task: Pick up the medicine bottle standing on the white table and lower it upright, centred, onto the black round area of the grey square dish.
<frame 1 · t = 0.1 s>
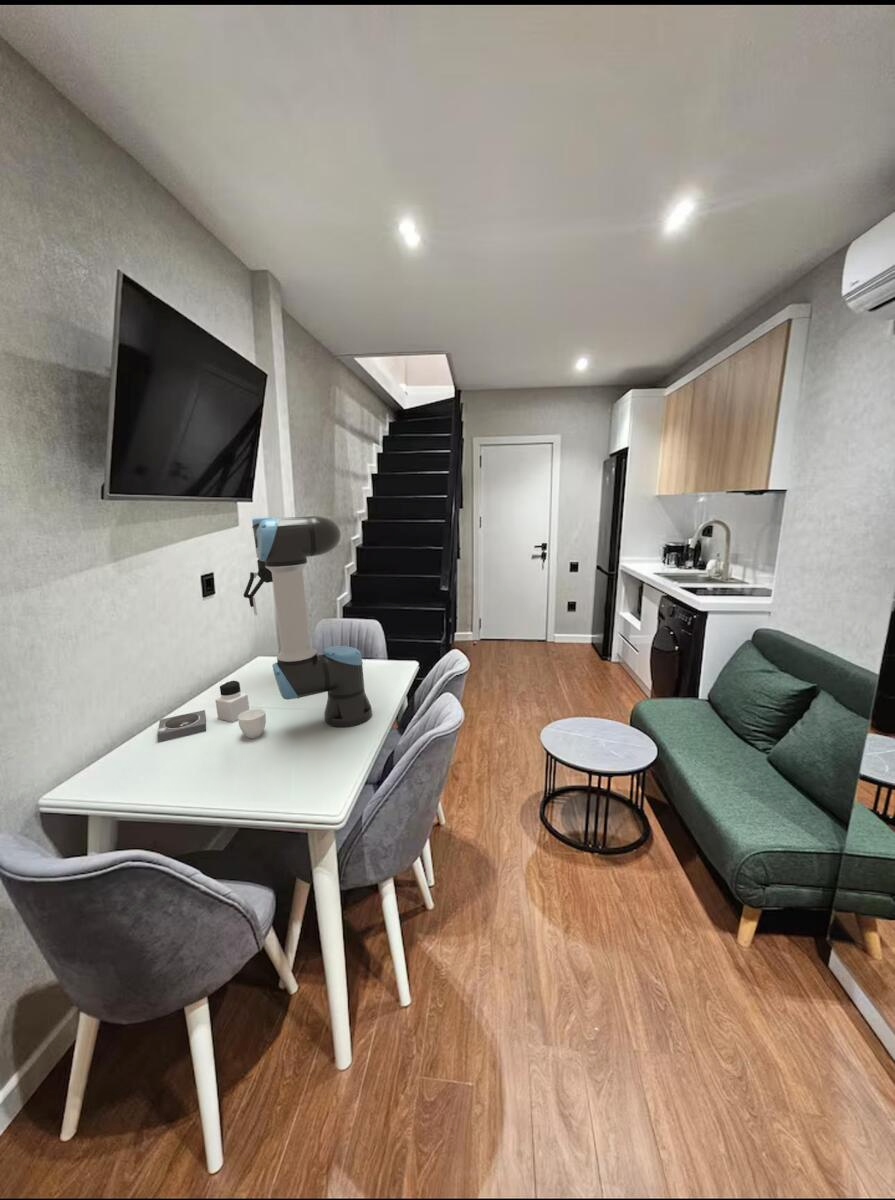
hand: (274, 612, 185), 28 cm above the table, fingers open, 13 cm apart
grey square dish: (183, 728, 151), on the table
medicine bottle: (234, 716, 159), on the table
cup: (255, 733, 146), on the table
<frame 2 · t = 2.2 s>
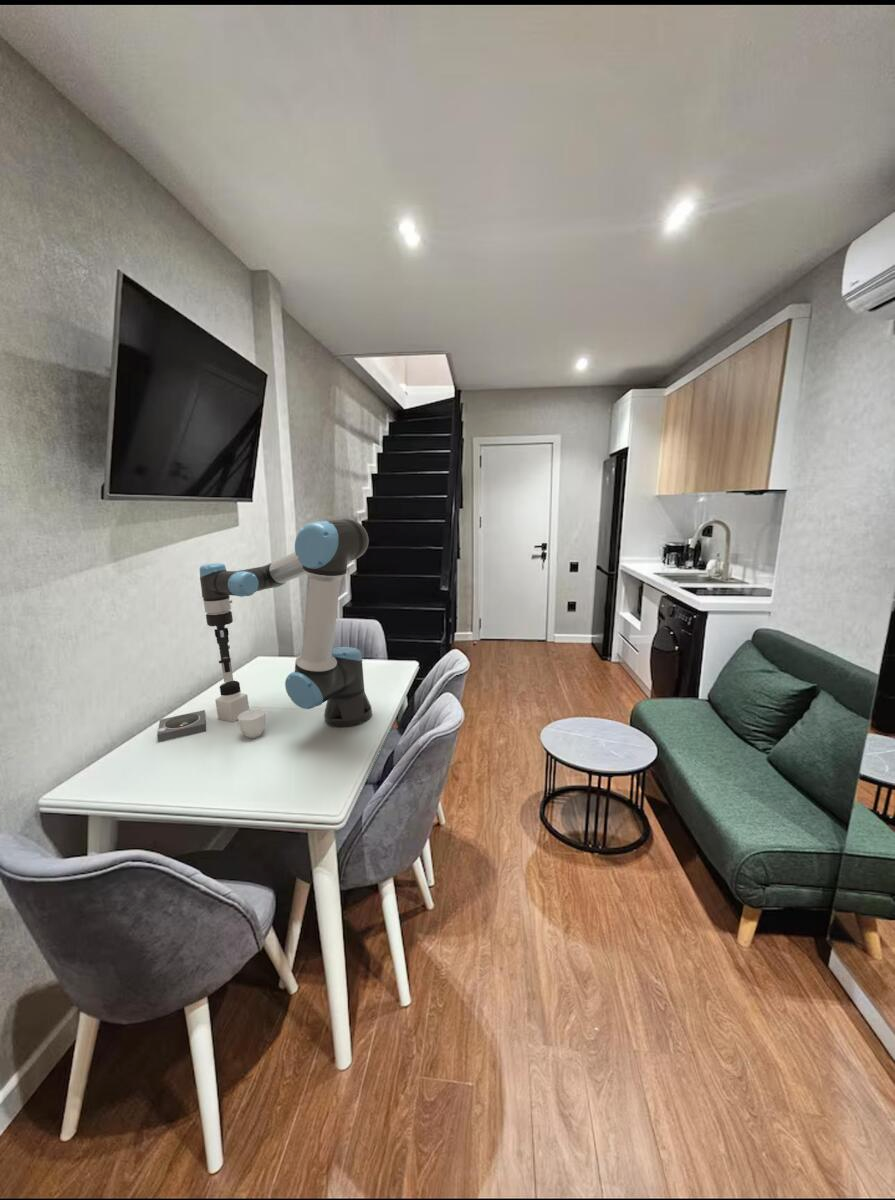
hand: (227, 674, 156), 15 cm above the table, fingers open, 13 cm apart
nothing on the table moved.
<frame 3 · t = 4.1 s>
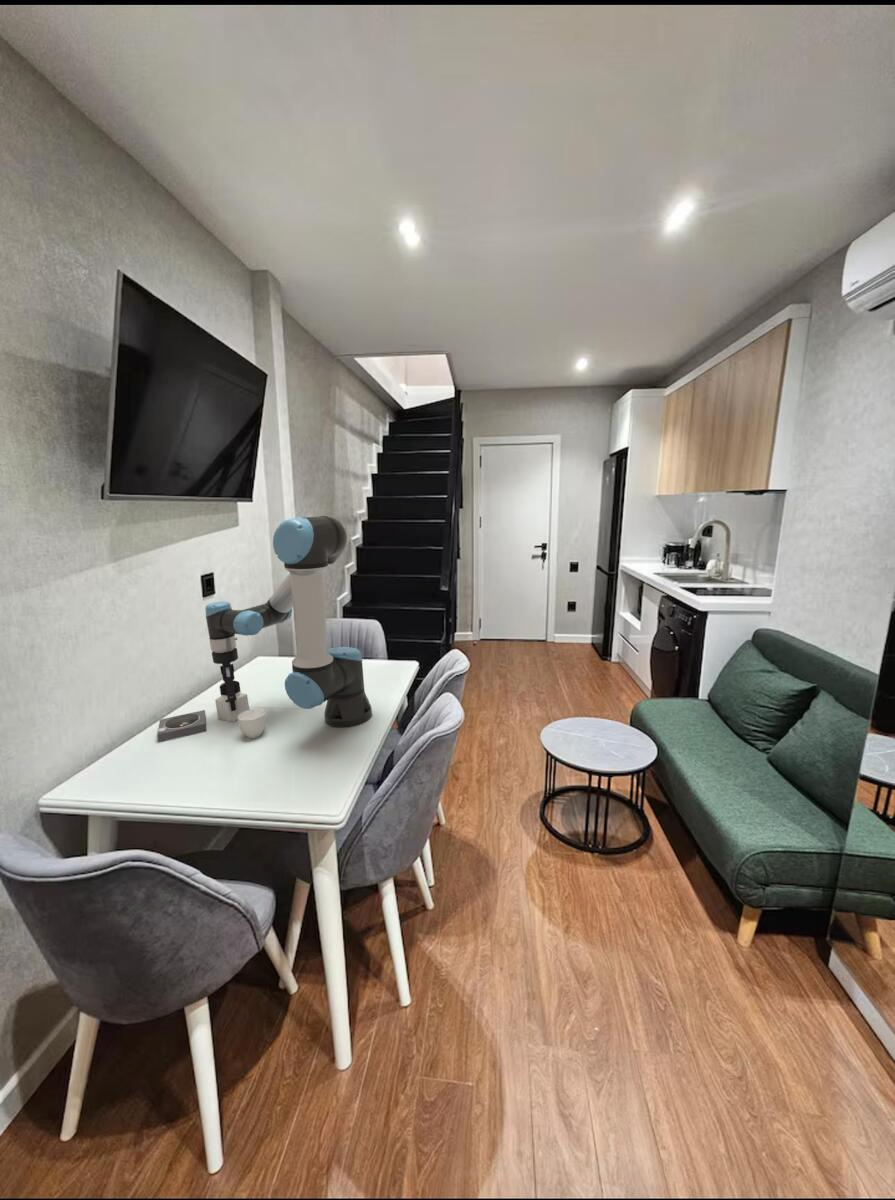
hand: (233, 713, 158), 1 cm above the table, fingers closed on medicine bottle, 10 cm apart
medicine bottle: (234, 716, 159), on the table, touching gripper
everything else where it was.
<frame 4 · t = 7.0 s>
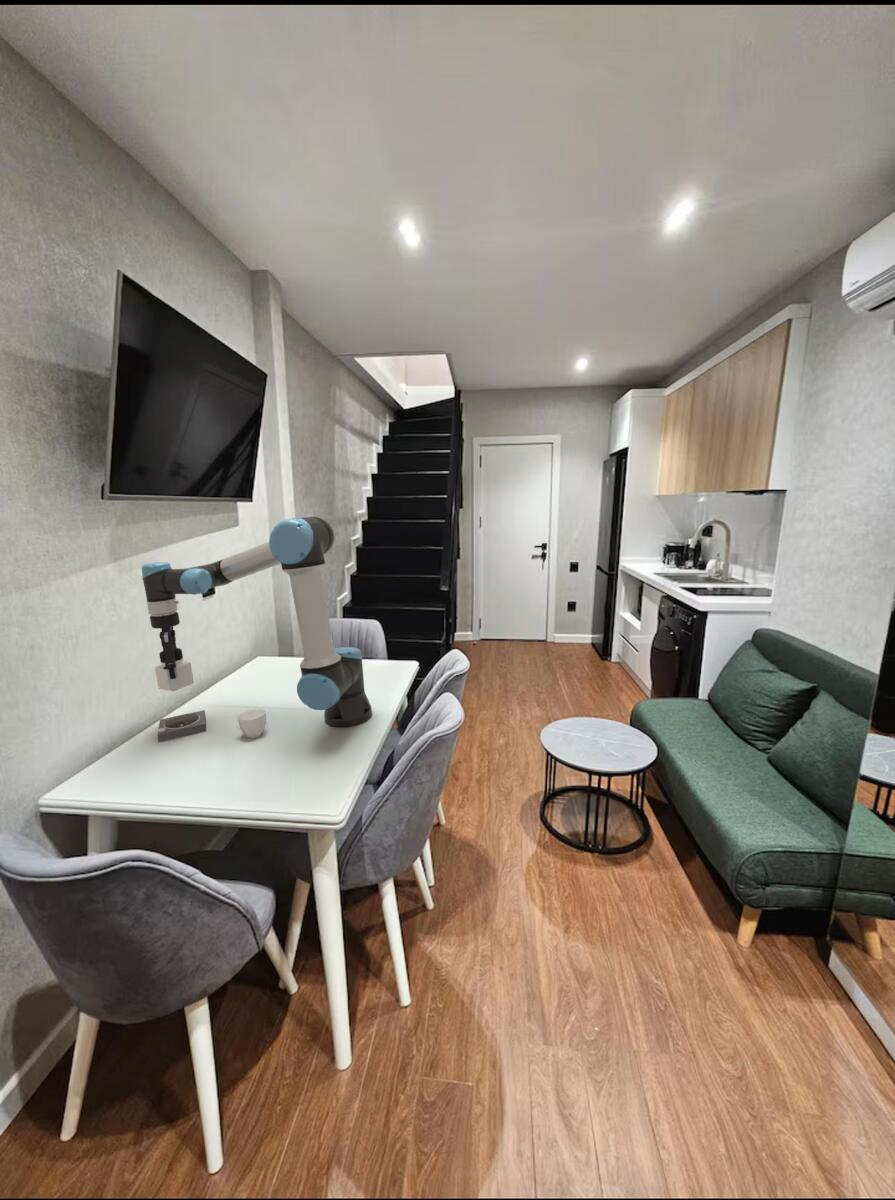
hand: (175, 682, 148), 16 cm above the table, fingers closed on medicine bottle, 10 cm apart
medicine bottle: (176, 686, 148), point 14 cm above the table, touching gripper
everything else where it was.
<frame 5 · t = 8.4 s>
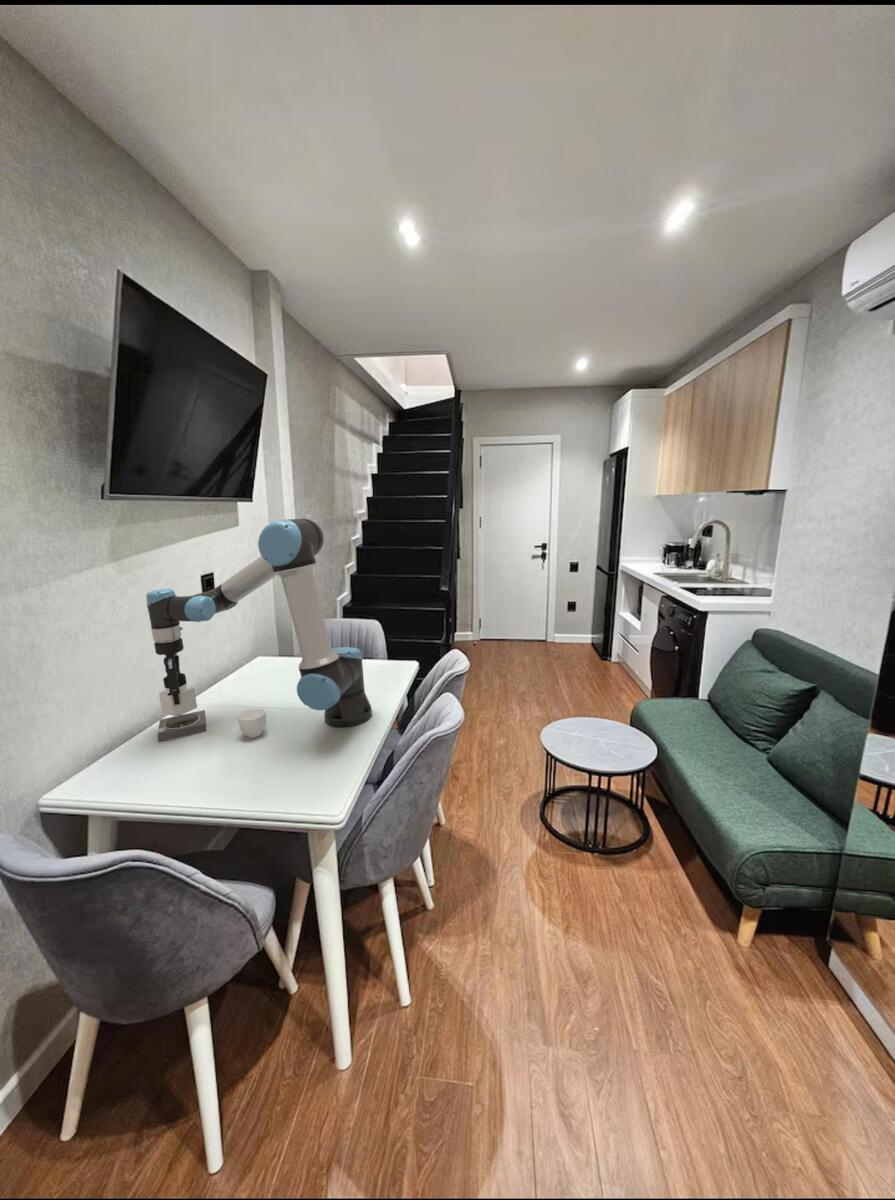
hand: (179, 707, 150), 7 cm above the table, fingers closed on medicine bottle, 10 cm apart
medicine bottle: (180, 711, 150), point 6 cm above the table, touching gripper
everything else where it was.
when the fingers open (5 cm above the table, at t = 9.8 s): medicine bottle stays where it is, resting on grey square dish.
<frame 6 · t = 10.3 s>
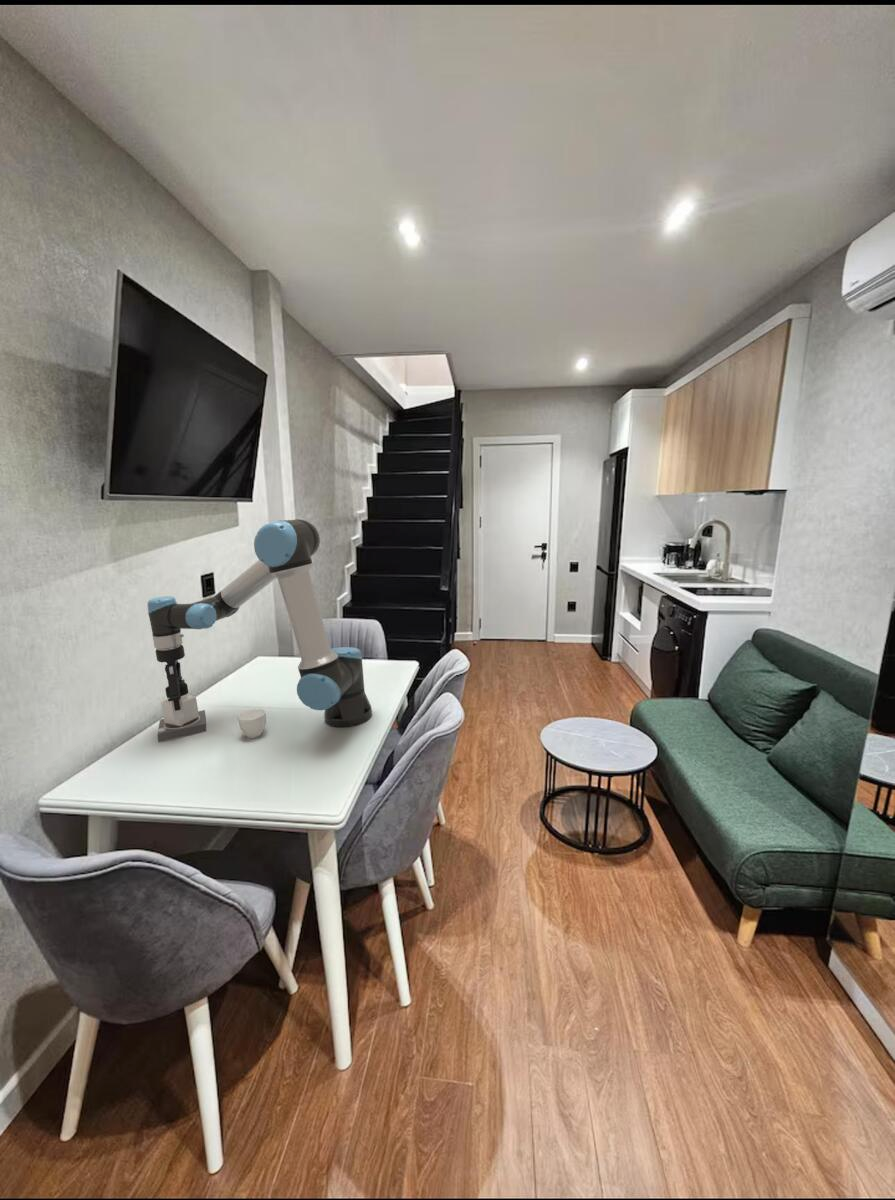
hand: (180, 711, 150), 6 cm above the table, fingers open, 13 cm apart
medicine bottle: (182, 720, 151), point 3 cm above the table, touching grey square dish
everything else where it was.
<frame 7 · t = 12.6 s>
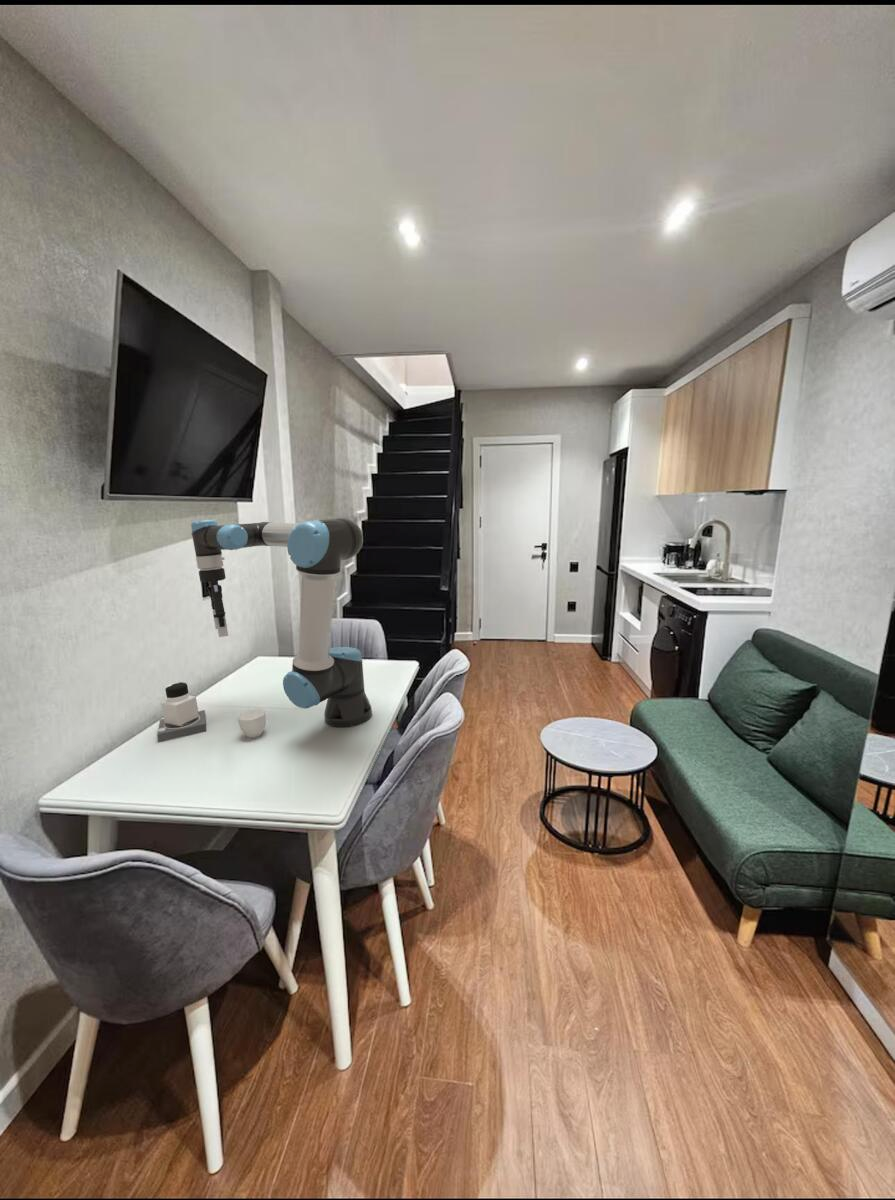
hand: (221, 632, 156), 28 cm above the table, fingers open, 13 cm apart
nothing on the table moved.
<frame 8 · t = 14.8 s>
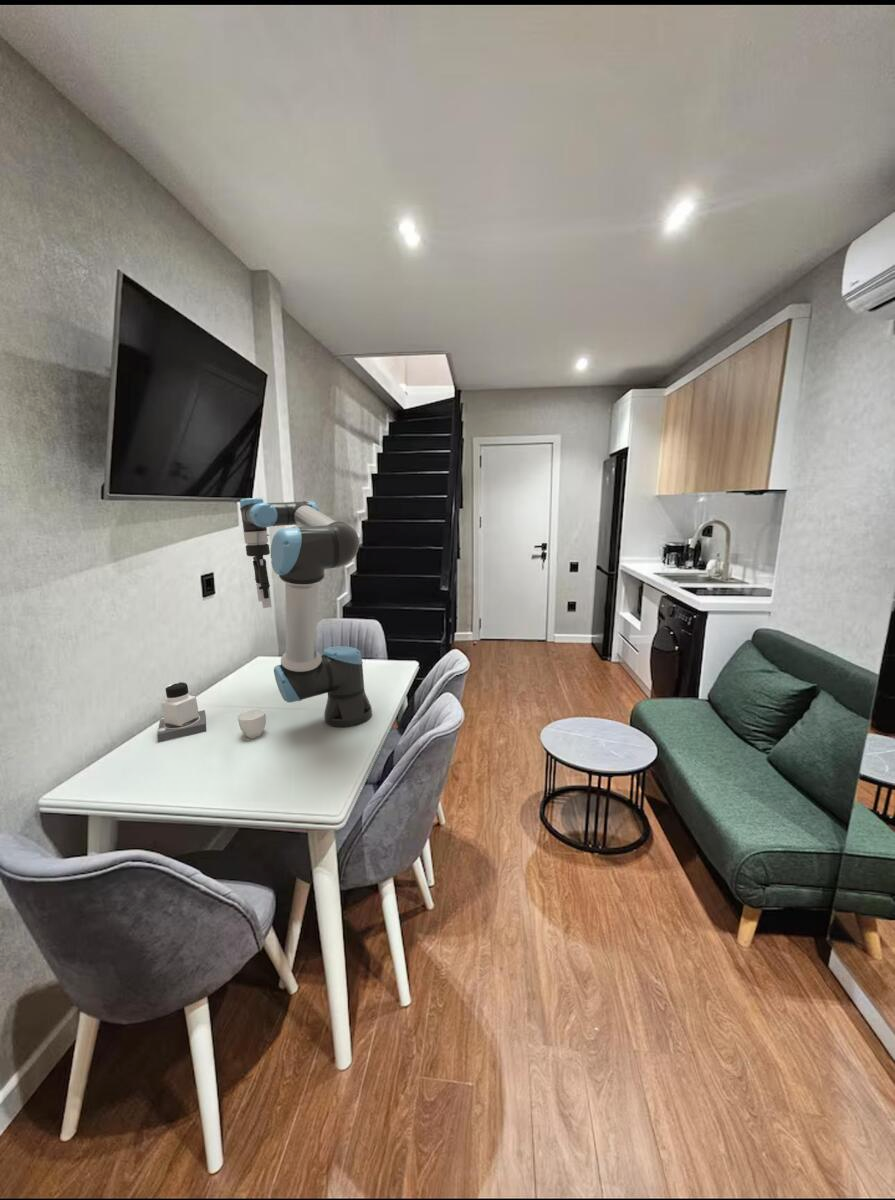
hand: (264, 604, 167), 35 cm above the table, fingers open, 13 cm apart
nothing on the table moved.
at the end: medicine bottle inside the target area on the grey square dish (0.1 cm from its centre), point 2.8 cm above the grey square dish's base; medicine bottle tilted 1°; the gripper is holding nothing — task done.
